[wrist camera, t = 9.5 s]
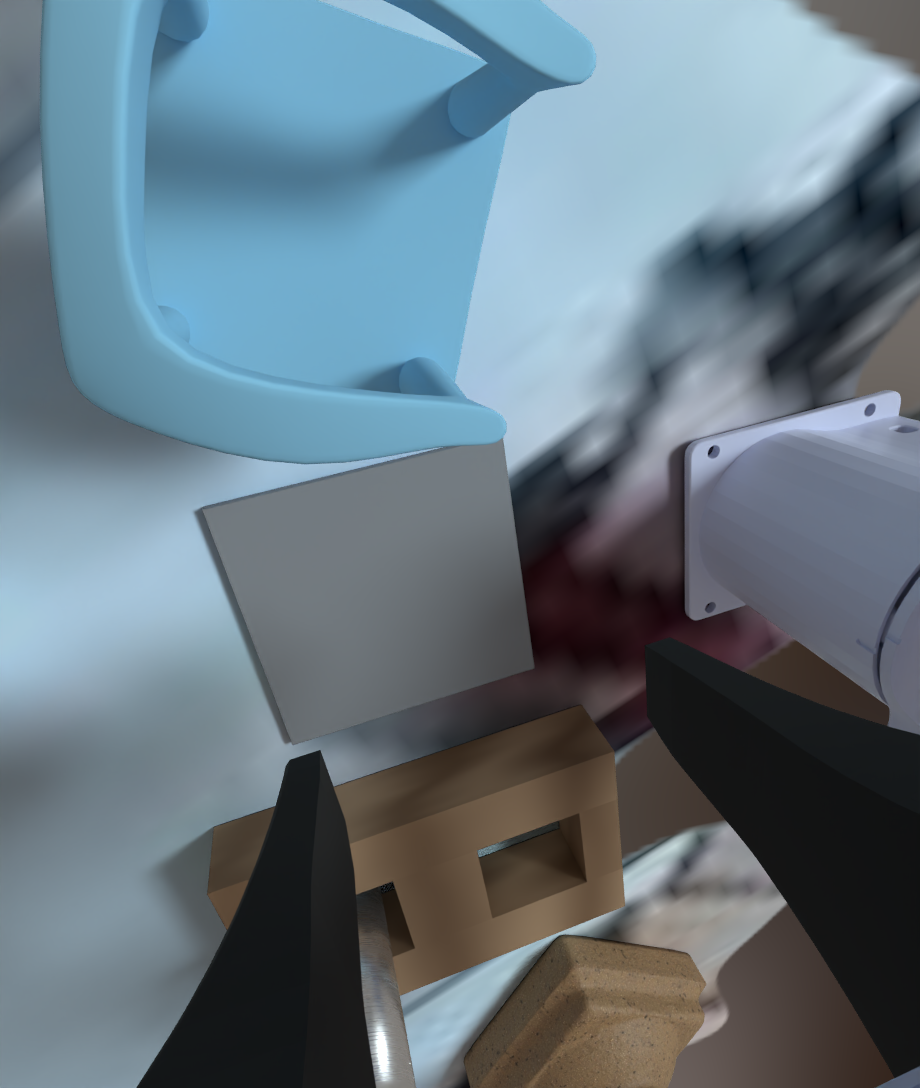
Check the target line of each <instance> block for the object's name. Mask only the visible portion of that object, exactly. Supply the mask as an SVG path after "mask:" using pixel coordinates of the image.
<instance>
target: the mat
mask: <svg viewBox="0 0 920 1088" xmlns="http://www.w3.org/2000/svg"><path fill="white" fill-rule="evenodd" d="M202 511H203V513H204V516H205V519H206V521H207V524H208V526H209V529H210V532H211V534H212V537H213V539H214V542H215V545H216V547H217V550H218V552H219V555H220V558H221V560H222V563H223V565H224V568H225V571H226V573H227V576H228V578H229V581H230V584H231V586H232V589H233V591H234V594H235V597H236V599H237V602H238V604H239V607H240V610H241V612H242V615H243V617H244V620H245V623H246V625H247V628H248V630H249V633H250V636H251V638H252V641H253V643H254V646H255V649H256V651H257V654H258V656H259V659H260V662H261V664H262V667H263V669H264V672H265V675H266V677H267V680H268V682H269V685H270V688H271V690H272V693H273V695H274V698H275V701H276V703H277V706H278V708H279V711H280V714H281V716H282V719H283V721H284V724H285V727H286V729H287V732H288V734H289V737H290V740H291V742H292V745H295V744H298V743H301V742H305V741H308V740H311V739H314V738H317V737H320V736H323V735H327V734H330V733H333V732H336V731H339V730H342V729H345V728H349V727H352V726H355V725H358V724H361V723H364V722H367V721H371V720H374V719H377V718H380V717H383V716H386V715H389V714H393V713H396V712H399V711H402V710H405V709H408V708H411V707H415V706H418V705H421V704H424V703H427V702H430V701H433V700H437V699H440V698H443V697H446V696H449V695H452V694H455V693H459V692H462V691H465V690H468V689H471V688H474V687H477V686H481V685H484V684H487V683H490V682H493V681H496V680H499V679H503V678H506V677H509V676H512V675H515V674H518V673H521V672H525V671H528V670H531V669H534V661H533V654H532V646H531V639H530V632H529V625H528V617H527V610H526V603H525V596H524V588H523V581H522V574H521V567H520V559H519V552H518V545H517V538H516V530H515V523H514V516H513V509H512V501H511V494H510V487H509V480H508V472H507V465H506V458H505V450H504V443H503V438H502V439H500V440H499V441H498V442H497V443H493V444H488V445H472V446H450V447H444V448H440V449H436V450H432V451H428V452H424V453H420V454H416V455H411V456H407V457H403V458H399V459H395V460H391V461H387V462H383V463H379V464H375V465H371V466H367V467H363V468H359V469H355V470H351V471H347V472H343V473H339V474H334V475H330V476H326V477H322V478H318V479H314V480H310V481H306V482H302V483H298V484H294V485H290V486H286V487H282V488H278V489H274V490H270V491H266V492H262V493H258V494H253V495H249V496H245V497H241V498H237V499H233V500H229V501H225V502H221V503H217V504H213V505H209V506H205V507H203V509H202Z"/></svg>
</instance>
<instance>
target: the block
mask: <svg viewBox="0 0 920 1088" xmlns="http://www.w3.org/2000/svg"><path fill="white" fill-rule="evenodd" d="M334 790H335V793H336V795H337V798H338V801H339V804H340V807H341V809H342V812H343V815H344V818H345V821H346V826H347V832H348V837H349V843H350V848H351V854H352V860H353V866H354V874H355V888H356V895H357V894H359V893H362V892H365V891H367V890H370V889H373V888H376V887H378V886H381V885H384V884H387V883H389V882H392V881H393V883H394V886H395V889H394V890H391V891H389V892H386V893H383V894H382V899H383V905H384V911H385V916H386V922H387V928H388V933H389V939H390V944H391V950H392V956H393V961H394V967H395V972H396V978H397V984H398V989H399V995H403V994H405V993H408V992H410V991H413V990H415V989H418V988H420V987H423V986H425V985H428V984H430V983H433V982H435V981H438V980H440V979H443V978H445V977H448V976H450V975H453V974H455V973H458V972H461V971H463V970H466V969H468V968H471V967H473V966H476V965H478V964H481V963H483V962H486V961H488V960H491V959H493V958H496V957H498V956H501V955H503V954H506V953H508V952H511V951H513V950H516V949H518V948H521V947H523V946H526V945H528V944H531V943H533V942H536V941H538V940H541V939H543V938H546V937H548V936H551V935H553V934H556V933H558V932H561V931H563V930H566V929H568V928H571V927H573V926H576V925H578V924H581V923H583V922H586V921H588V920H591V919H593V918H596V917H599V916H601V915H604V914H606V913H609V912H611V911H614V910H616V909H619V908H621V907H624V906H625V898H624V884H623V870H622V856H621V842H620V829H619V828H620V827H619V813H618V799H617V785H616V771H615V757H614V750H613V749H612V748H611V746H610V745H609V743H608V742H607V740H606V739H605V738H604V736H603V735H602V733H601V732H600V731H599V729H598V728H597V726H596V725H595V723H594V722H593V721H592V719H591V718H590V716H589V715H588V713H587V712H586V711H585V709H584V708H583V706H582V705H579V706H576V707H573V708H570V709H567V710H564V711H561V712H558V713H555V714H552V715H549V716H546V717H543V718H540V719H537V720H534V721H531V722H528V723H525V724H522V725H519V726H516V727H513V728H510V729H507V730H504V731H501V732H498V733H495V734H492V735H489V736H486V737H483V738H480V739H477V740H474V741H471V742H468V743H465V744H462V745H459V746H456V747H453V748H450V749H447V750H444V751H441V752H438V753H435V754H432V755H429V756H426V757H423V758H420V759H417V760H414V761H411V762H408V763H405V764H402V765H399V766H396V767H393V768H390V769H387V770H384V771H381V772H378V773H375V774H372V775H369V776H366V777H363V778H360V779H357V780H354V781H351V782H348V783H345V784H342V785H339V786H336V787H334ZM274 809H275V807H273V808H270V809H267V810H264V811H261V812H258V813H255V814H252V815H249V816H246V817H243V818H240V819H237V820H234V821H231V822H228V823H225V824H222V825H219V826H216V827H214V831H213V841H212V851H211V861H210V871H209V881H208V891H207V895H208V896H209V898H210V900H211V902H212V904H213V906H214V907H215V909H216V911H217V913H218V915H219V917H220V918H221V920H222V922H223V924H224V926H225V927H226V929H227V930H228V928H229V926H230V923H231V921H232V919H233V917H234V915H235V912H236V910H237V908H238V906H239V903H240V901H241V899H242V896H243V894H244V891H245V889H246V886H247V884H248V882H249V879H250V877H251V874H252V872H253V869H254V867H255V864H256V862H257V859H258V856H259V854H260V851H261V848H262V845H263V842H264V839H265V836H266V834H267V831H268V828H269V825H270V822H271V819H272V816H273V812H274ZM556 821H559V827H560V829H557V830H554V831H552V832H549V833H546V834H543V835H541V836H538V837H535V838H533V839H530V840H527V841H524V842H522V843H519V844H516V845H514V846H511V847H508V848H505V849H503V850H500V851H497V852H495V853H492V854H489V855H486V856H484V857H481V858H479V857H478V853H477V850H480V849H482V848H485V847H488V846H491V845H493V844H496V843H499V842H502V841H504V840H507V839H510V838H512V837H515V836H518V835H521V834H523V833H526V832H529V831H532V830H534V829H537V828H540V827H543V826H545V825H548V824H551V823H554V822H556Z"/></svg>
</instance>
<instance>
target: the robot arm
mask: <svg viewBox="0 0 920 1088" xmlns="http://www.w3.org/2000/svg"><path fill="white" fill-rule="evenodd" d="M900 403H901V397H900V395H899V393H897V392H895V391H890V390H885V391H881V392H877V393H874V394H870V395H866V396H862V397H858V398H854V399H851V400H847V401H843V402H839V403H835V404H832V405H828V406H824V407H820V408H816V409H813V410H809V411H805V412H801V413H797V414H794V415H790V416H786V417H782V418H779V419H775V420H771V421H767V422H763V423H760V424H756V425H752V426H748V427H744V428H741V429H737V430H733V431H729V432H725V433H722V434H718V435H714V436H710V437H706V438H703V439H699V440H696V441H694V442H692V443H691V444H690V445H689V446H688V447H687V449H686V452H685V613H686V614H687V615H688V616H689V617H690V618H691V619H692V620H701V619H704V618H707V617H710V616H713V615H716V614H719V613H723V612H726V611H729V610H732V609H735V608H738V607H741V606H745V605H748V606H750V607H751V608H752V609H754V610H755V611H757V612H758V613H759V614H761V615H762V616H763V617H765V618H766V619H768V620H769V621H770V622H772V623H773V624H775V625H776V626H777V627H779V628H780V629H782V630H783V631H784V632H786V633H787V634H788V635H790V636H791V637H793V638H794V639H795V640H797V641H798V642H800V643H801V644H803V645H804V646H805V647H807V648H808V649H810V650H811V651H812V652H814V653H815V654H816V655H818V656H819V657H820V658H822V659H823V660H825V661H826V662H828V663H829V664H830V665H832V666H833V667H834V668H836V669H837V670H839V671H840V672H841V673H843V674H844V675H845V676H847V677H848V678H850V679H851V680H853V681H854V682H855V683H857V684H858V685H859V686H861V687H862V688H864V689H865V690H866V691H868V692H869V693H871V694H872V695H873V696H875V697H876V698H878V699H879V700H880V701H882V702H883V703H884V704H886V705H887V706H889V708H890V719H889V723H888V726H885V725H882V724H878V723H875V722H872V721H868V720H865V719H862V718H859V717H856V716H853V715H850V714H847V713H844V712H841V711H838V710H835V709H832V708H829V707H827V706H824V705H821V704H818V703H816V702H813V701H810V700H808V699H806V698H803V697H801V696H798V695H796V694H793V693H791V692H788V691H786V690H783V689H781V688H778V687H776V686H774V685H771V684H769V683H767V682H765V681H762V680H760V679H758V678H756V677H753V676H751V675H749V674H747V673H745V672H742V671H740V670H738V669H736V668H734V667H732V666H730V665H727V664H725V663H723V662H721V661H719V660H717V659H715V658H713V657H711V656H709V655H706V654H704V653H702V652H700V651H698V650H696V649H694V648H692V647H690V646H688V645H685V644H683V643H681V642H679V641H677V640H674V639H672V638H667V639H664V640H661V641H657V642H654V643H651V644H648V645H645V663H646V691H647V717H648V718H649V720H650V721H651V723H652V725H653V726H654V728H655V729H656V731H657V733H658V734H659V736H660V737H661V739H662V741H663V742H664V744H665V745H666V746H667V748H668V749H669V751H670V753H671V754H672V756H673V757H674V758H675V760H676V761H677V762H678V763H679V764H680V766H681V767H682V768H683V769H684V771H685V772H686V773H687V774H688V775H689V777H690V778H691V779H692V780H693V781H694V783H695V784H696V785H697V786H698V788H699V789H700V790H701V791H702V792H703V794H704V795H705V796H706V797H707V798H708V799H709V801H710V802H711V803H712V804H713V805H714V807H715V808H716V809H717V810H718V811H719V813H720V814H721V815H722V816H723V817H724V819H725V820H726V821H727V822H728V823H729V825H730V826H731V827H732V828H733V829H734V831H735V832H736V833H737V834H738V835H739V837H740V838H741V839H742V840H743V841H744V843H745V844H746V845H747V847H748V848H749V849H750V851H751V852H752V853H753V854H754V856H755V857H756V858H757V860H758V861H759V863H760V864H761V865H762V867H763V868H764V870H765V871H766V873H767V874H768V876H769V877H770V879H771V880H772V881H773V883H774V884H775V886H776V887H777V889H778V890H779V892H780V893H781V894H782V896H783V897H784V899H785V900H786V902H787V903H788V905H789V906H790V908H791V909H792V911H793V912H794V914H795V915H796V917H797V918H798V920H799V921H800V923H801V925H802V926H803V928H804V929H805V931H806V932H807V934H808V935H809V937H810V938H811V940H812V941H813V943H814V944H815V946H816V948H817V949H818V951H819V952H820V954H821V955H822V957H823V958H824V960H825V962H826V963H827V965H828V967H829V968H830V970H831V972H832V973H833V975H834V976H835V978H836V979H837V981H838V983H839V984H840V986H841V988H842V989H843V991H844V992H845V994H846V996H847V997H848V999H849V1001H850V1002H851V1004H852V1005H853V1007H854V1009H855V1011H856V1012H857V1014H858V1016H859V1017H860V1019H861V1021H862V1023H863V1024H864V1026H865V1028H866V1029H867V1031H868V1033H869V1034H870V1036H871V1038H872V1039H873V1041H874V1043H875V1045H876V1046H877V1048H878V1050H879V1052H880V1053H881V1055H882V1057H883V1058H884V1060H885V1062H886V1063H887V1065H888V1067H889V1069H890V1070H891V1072H892V1074H893V1076H894V1079H892V1080H890V1081H889V1082H886V1083H884V1084H882V1085H880V1086H878V1087H876V1088H920V421H917V420H912V419H908V418H904V417H900V416H898V415H899V409H900ZM866 407H867V409H866V411H865V408H866ZM864 411H865V412H864ZM712 446H713V447H714V448H713V451H712V453H711V454H710V455H708V450H709V449H710V447H712ZM708 603H710V604H709V605H708V607H706V605H707V604H708ZM705 607H706V608H705ZM137 1088H376V1083H375V1077H374V1070H373V1064H372V1057H371V1051H370V1044H369V1038H368V1031H367V1025H366V1018H365V1010H364V1001H363V991H362V978H361V962H360V947H359V932H358V917H357V902H356V888H355V874H354V866H353V860H352V854H351V848H350V843H349V837H348V832H347V826H346V821H345V818H344V815H343V812H342V809H341V807H340V804H339V801H338V798H337V795H336V793H335V790H334V787H333V784H332V782H331V779H330V776H329V773H328V770H327V768H326V765H325V762H324V759H323V756H322V754H321V751H320V750H319V751H316V752H313V753H309V754H306V755H303V756H300V757H297V758H294V759H291V760H289V762H288V763H287V765H286V768H285V772H284V777H283V781H282V784H281V788H280V792H279V796H278V799H277V803H276V806H275V809H274V812H273V816H272V819H271V822H270V825H269V828H268V831H267V834H266V836H265V839H264V842H263V845H262V848H261V851H260V854H259V856H258V859H257V862H256V864H255V867H254V869H253V872H252V874H251V877H250V879H249V882H248V884H247V886H246V889H245V891H244V894H243V896H242V899H241V901H240V903H239V906H238V908H237V910H236V912H235V915H234V917H233V919H232V921H231V923H230V926H229V928H228V930H227V932H226V934H225V936H224V938H223V940H222V942H221V944H220V946H219V948H218V950H217V952H216V954H215V956H214V958H213V960H212V962H211V964H210V966H209V968H208V970H207V971H206V973H205V975H204V977H203V979H202V981H201V982H200V984H199V986H198V988H197V990H196V992H195V993H194V995H193V997H192V999H191V1001H190V1002H189V1004H188V1006H187V1008H186V1009H185V1011H184V1013H183V1015H182V1016H181V1018H180V1020H179V1021H178V1023H177V1025H176V1026H175V1028H174V1030H173V1031H172V1033H171V1034H170V1036H169V1038H168V1039H167V1041H166V1042H165V1044H164V1045H163V1047H162V1049H161V1050H160V1052H159V1053H158V1055H157V1056H156V1058H155V1060H154V1061H153V1063H152V1064H151V1066H150V1067H149V1069H148V1071H147V1072H146V1074H145V1075H144V1077H143V1078H142V1080H141V1082H140V1083H139V1085H138V1086H137Z"/></svg>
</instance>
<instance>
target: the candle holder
mask: <svg viewBox="0 0 920 1088" xmlns="http://www.w3.org/2000/svg"><path fill="white" fill-rule="evenodd" d="M705 986H706V982H705V981H704V979H703V977H702V975H701V974H700V972H699V970H698V969H697V967H696V965H695V963H694V962H693V960H692V958H691V957H690V955H689V954H687V953H684V952H680V951H675V950H670V949H664V948H657V947H650V946H644V945H637V944H631V943H624V942H618V941H611V940H605V939H598V938H591V937H584V936H573V935H564V936H560V937H559V938H557V939H556V940H555V941H554V942H553V943H552V944H551V945H550V947H549V948H548V949H547V950H546V951H545V953H544V954H543V955H542V956H541V957H540V959H539V960H538V961H537V962H536V964H535V965H534V966H533V968H532V969H531V970H530V972H529V973H528V974H527V975H526V977H525V978H524V979H523V981H522V982H521V983H520V984H519V986H518V987H517V988H516V990H515V991H514V992H513V994H512V995H511V996H510V997H509V999H508V1000H507V1001H506V1003H505V1004H504V1005H503V1007H502V1008H501V1009H500V1010H499V1012H498V1013H497V1014H496V1016H495V1017H494V1018H493V1019H492V1021H491V1022H490V1023H489V1025H488V1026H487V1027H486V1029H485V1030H484V1031H483V1032H482V1034H481V1035H480V1036H479V1038H478V1039H477V1040H476V1042H475V1043H474V1044H473V1046H472V1047H471V1049H470V1050H469V1052H468V1053H467V1055H466V1056H465V1059H464V1064H465V1068H466V1072H467V1076H468V1080H469V1084H470V1088H667V1087H668V1085H669V1082H670V1080H671V1077H672V1074H673V1071H674V1067H675V1063H676V1057H677V1056H678V1055H679V1053H680V1052H681V1051H682V1050H683V1049H684V1047H685V1046H686V1045H687V1044H688V1043H689V1041H690V1040H691V1039H692V1038H693V1036H694V1035H695V1034H696V1032H697V1031H698V1030H699V1029H700V1027H701V1026H702V1024H703V1022H704V1015H705V1014H704V1012H703V1010H702V1009H701V1007H700V1005H699V1002H698V998H699V995H700V994H701V992H702V991H703V989H704V987H705Z"/></svg>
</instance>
